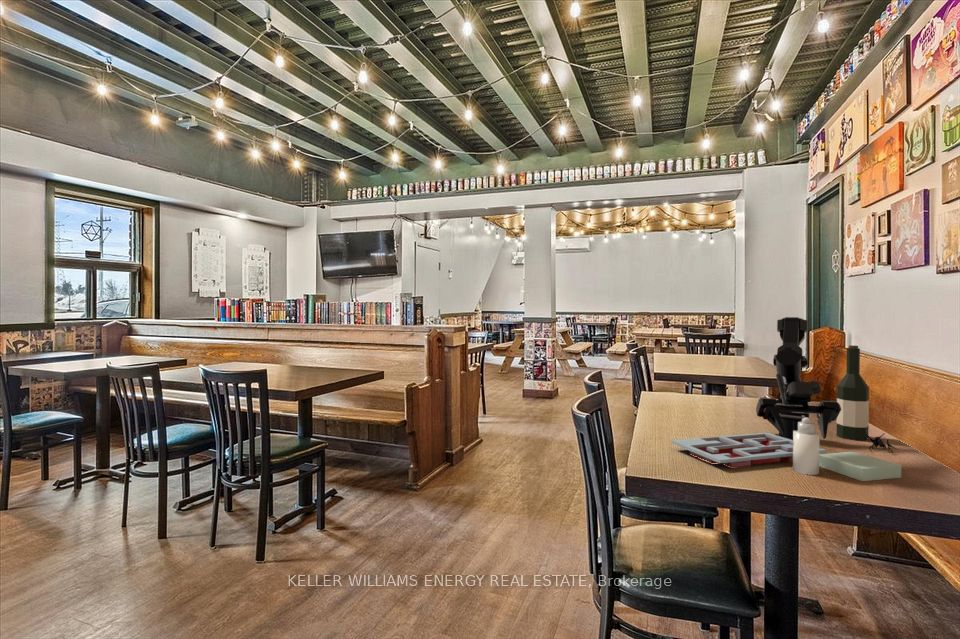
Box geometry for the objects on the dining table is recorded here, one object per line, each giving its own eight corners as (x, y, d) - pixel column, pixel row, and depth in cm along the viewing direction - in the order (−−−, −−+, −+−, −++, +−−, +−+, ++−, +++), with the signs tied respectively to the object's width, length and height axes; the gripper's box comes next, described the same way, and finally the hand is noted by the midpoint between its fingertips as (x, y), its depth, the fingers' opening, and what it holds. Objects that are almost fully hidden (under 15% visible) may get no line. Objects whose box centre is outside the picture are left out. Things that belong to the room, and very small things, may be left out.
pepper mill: (787, 468, 125) (788, 415, 125) (805, 467, 126) (805, 414, 126) (806, 475, 120) (807, 420, 119) (824, 474, 121) (825, 419, 121)
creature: (905, 459, 137) (885, 445, 145) (908, 442, 136) (888, 429, 144) (875, 458, 138) (857, 444, 146) (878, 441, 137) (860, 428, 144)
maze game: (766, 442, 152) (766, 432, 152) (825, 461, 133) (825, 449, 133) (671, 450, 143) (671, 440, 143) (719, 472, 124) (719, 460, 124)
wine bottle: (875, 439, 153) (876, 346, 153) (856, 441, 151) (857, 346, 150) (848, 433, 161) (849, 344, 161) (830, 435, 159) (831, 345, 158)
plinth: (817, 465, 128) (817, 454, 127) (853, 462, 130) (853, 451, 130) (862, 481, 116) (862, 469, 116) (901, 477, 118) (901, 465, 118)
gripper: (759, 368, 132) (769, 416, 121) (838, 371, 126) (857, 421, 116) (751, 392, 139) (761, 439, 129) (826, 396, 134) (843, 445, 123)
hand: (804, 436), depth 124 cm, fingers open, 9 cm apart
